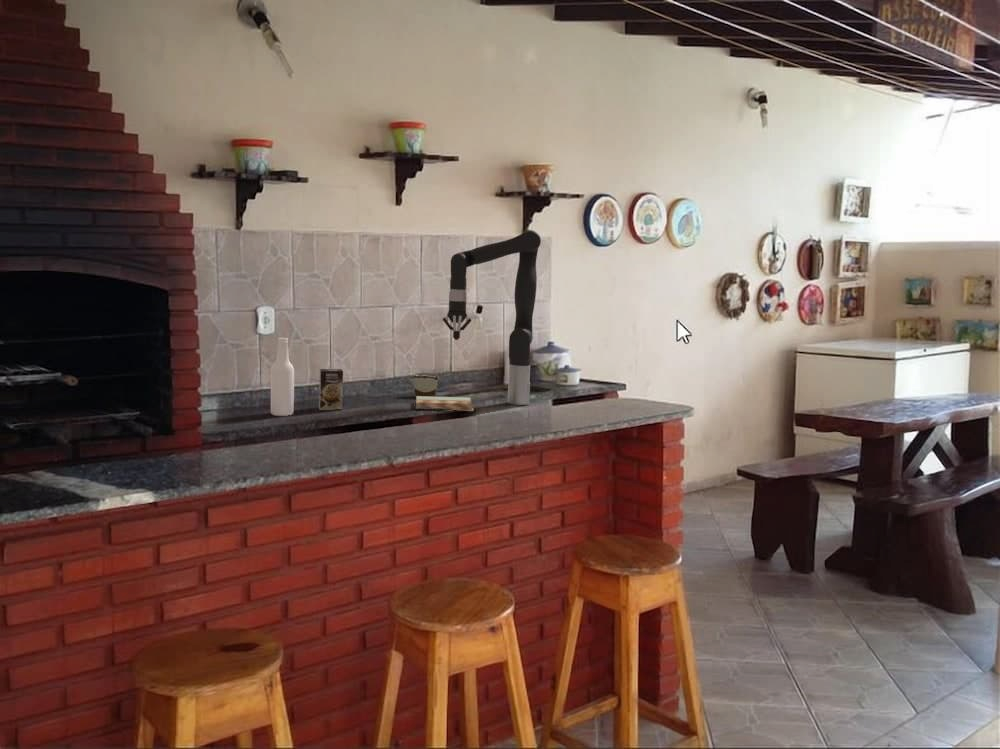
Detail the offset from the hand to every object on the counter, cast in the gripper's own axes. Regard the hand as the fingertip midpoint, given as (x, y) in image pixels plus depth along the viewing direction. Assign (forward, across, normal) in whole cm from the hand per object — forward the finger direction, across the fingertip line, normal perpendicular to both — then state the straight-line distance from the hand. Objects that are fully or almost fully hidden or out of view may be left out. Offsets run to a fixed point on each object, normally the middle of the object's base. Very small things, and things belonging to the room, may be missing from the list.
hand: (456, 339), depth 409 cm
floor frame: (+27, +5, +14) cm, 31 cm away
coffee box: (+27, +51, +25) cm, 63 cm away
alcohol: (+27, +69, +38) cm, 83 cm away
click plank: (+26, +5, +11) cm, 29 cm away
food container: (+27, +12, -10) cm, 31 cm away
